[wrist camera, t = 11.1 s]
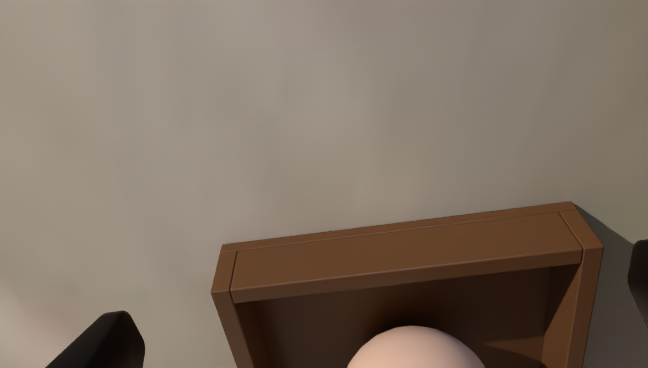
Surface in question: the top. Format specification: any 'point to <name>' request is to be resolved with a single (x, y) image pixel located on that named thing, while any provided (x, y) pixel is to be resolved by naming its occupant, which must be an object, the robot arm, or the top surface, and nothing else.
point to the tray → (416, 289)
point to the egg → (415, 350)
